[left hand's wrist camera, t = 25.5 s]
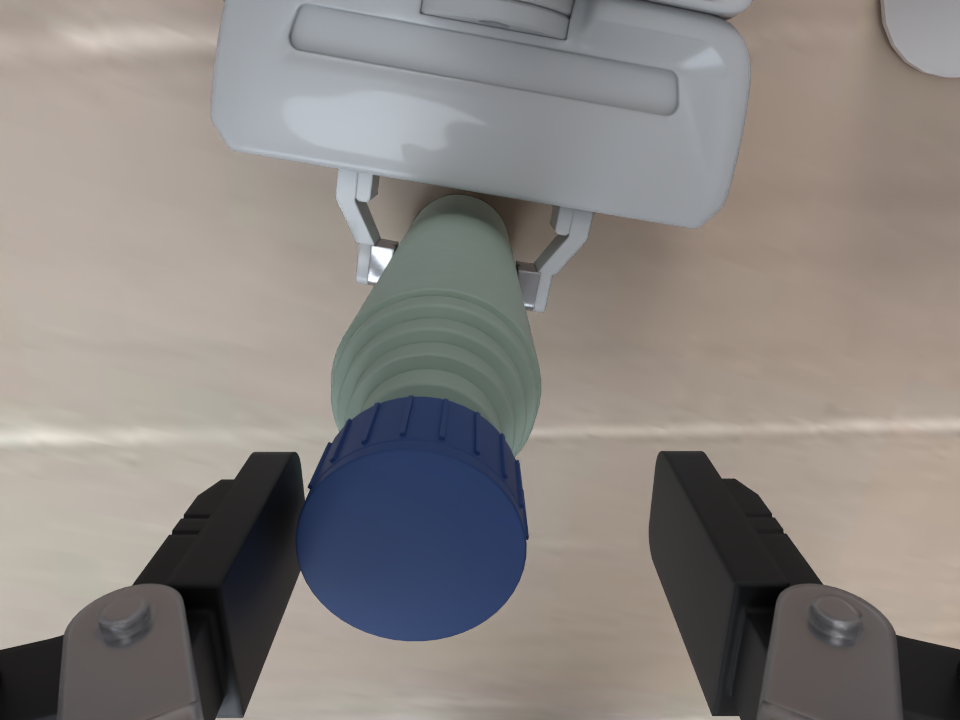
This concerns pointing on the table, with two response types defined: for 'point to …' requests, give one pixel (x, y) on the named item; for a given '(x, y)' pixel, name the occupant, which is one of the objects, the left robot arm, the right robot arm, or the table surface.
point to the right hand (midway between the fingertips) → (452, 295)
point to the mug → (925, 34)
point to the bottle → (445, 325)
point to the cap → (414, 521)
